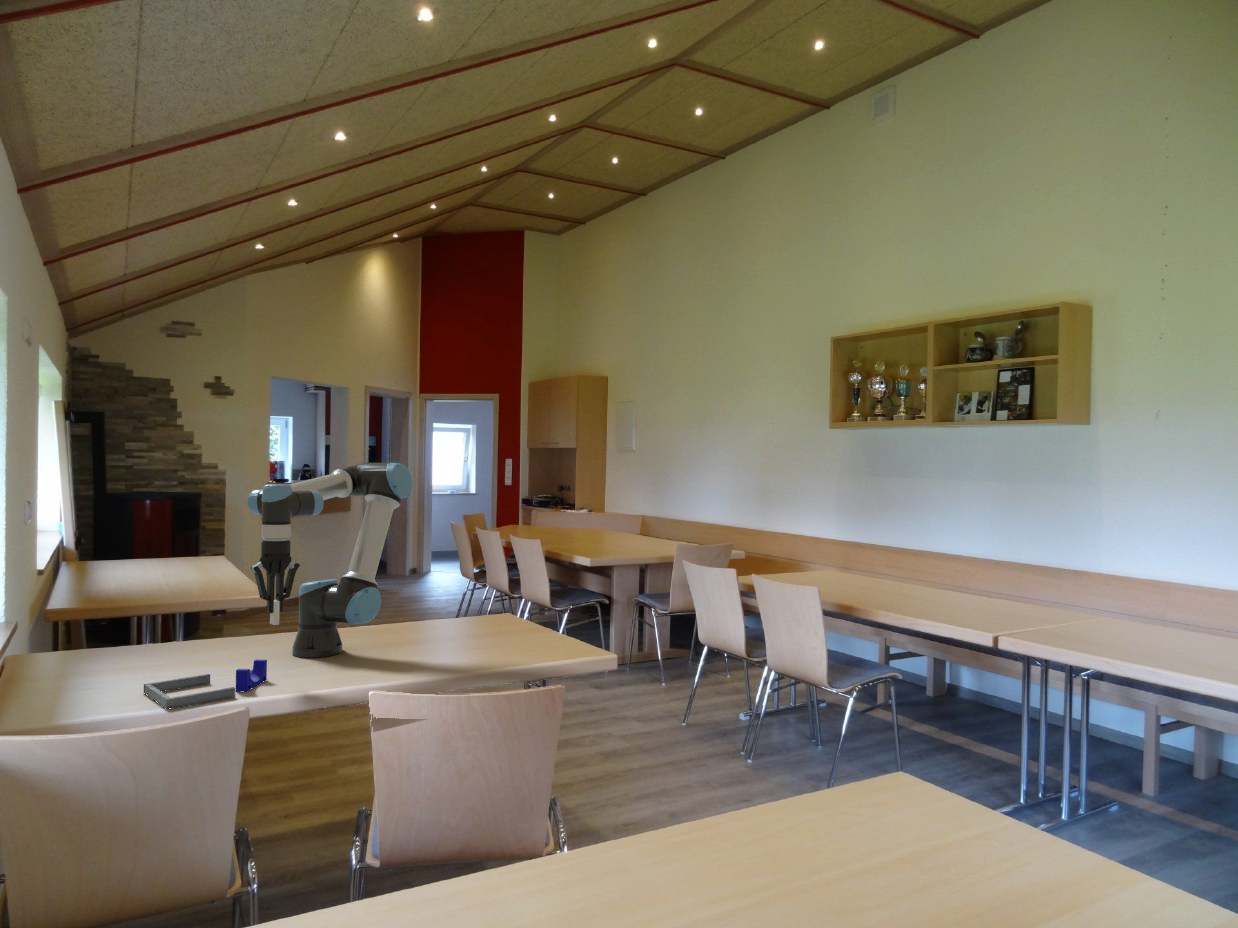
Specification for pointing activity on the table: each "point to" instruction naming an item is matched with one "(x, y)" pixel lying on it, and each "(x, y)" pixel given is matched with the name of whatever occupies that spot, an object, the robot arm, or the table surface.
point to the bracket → (155, 693)
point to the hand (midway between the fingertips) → (274, 624)
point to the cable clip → (251, 676)
